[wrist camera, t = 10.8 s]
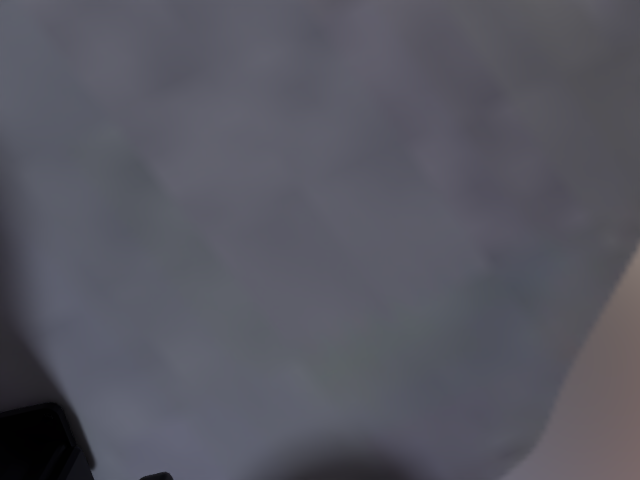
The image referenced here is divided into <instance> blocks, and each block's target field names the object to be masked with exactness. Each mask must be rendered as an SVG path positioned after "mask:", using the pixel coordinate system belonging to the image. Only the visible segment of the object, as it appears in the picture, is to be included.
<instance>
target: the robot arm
mask: <svg viewBox="0 0 640 480" xmlns="http://www.w3.org/2000/svg"><path fill="white" fill-rule="evenodd" d="M44 414H50V415H52V417H53V418H47V417H46V416H45V415H44ZM0 480H94V478H93V476H92V473H91V471H90V468H89V466H88V463H87V461H86V458H85V455H84V453H83V451H82V449H80V448H79V447H78V446H77V444H76V442H75V439H74V437H73V435H72V432H71V430H70V427H69V425H68V422H67V420H66V417H65V415H64V412H63V410H62V408H61V407H60V406H59V405H57V404H55V403H52V402H50V403H43V404H38V405H34V406H29V407H25V408H20V409H16V410H11V411H7V412H2V413H0ZM140 480H173V478H172V476H171V475H170V474H169V473H167V472H162V473H157V474H153V475H148V476H145V477H142V478H141V479H140Z"/></svg>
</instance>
